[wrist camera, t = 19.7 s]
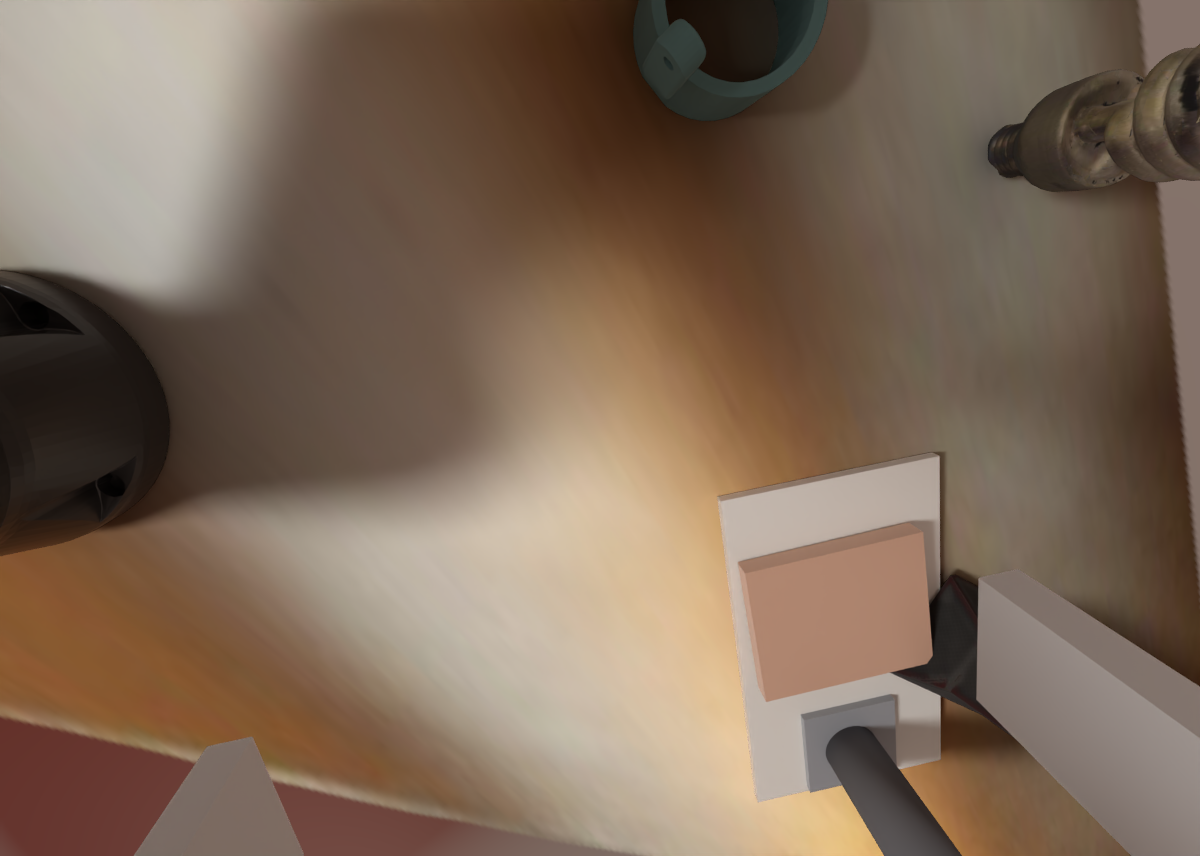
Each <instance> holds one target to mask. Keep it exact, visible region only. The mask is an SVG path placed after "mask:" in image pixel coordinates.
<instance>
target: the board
mask: <svg viewBox="0 0 1200 856" xmlns="http://www.w3.org/2000/svg"><path fill="white" fill-rule="evenodd" d="M717 499H718V507H719V515H720V523H721V531H722V539H723V547H724V555H725V563H726V570H727V578H728V586H729V594H730V602H731V610H732V618H733V626H734V634H735V642H736V650H737V658H738V666H739V674H740V682H741V690H742V698H743V706H744V714H745V722H746V730H747V738H748V745H749V753H750V761H751V769H752V777H753V785H754V793H755V796H756V798H757V801H758V802H762V801H766V800H770V799H774V798H779V797H783V796H787V795H792V794H796V793H800V792H804V791H810V793H811V792H815V791H819V790H824V789H828V788H832V787H836V786H841V785H842V784H841V782H840V780H839V779H838V777H837V775H836V774H835V772H834V770H833V769H832V767H831V765H830V764H829V762H828V760H827V758H826V747H827V744H828V742H829V741H830V739H831V738H832V737H833V736H834V735H835V734H836V733H837V732H839V731H840V730H842V729H844V728H847V727H851V726H861V727H865V728H867V729H869V730H870V731H871V732H872V733H873V734H874V735H875V737H876V738H877V740H878V741H879V742H880V744H881V745H882V746H883V748H884V749H885V751H886V752H887V753H888V755H889V756H890V757H891V759H892V760H893V762H894V763H895V764H896V766H897V767H898V768H899V769H903V768H907V767H911V766H915V765H920V764H924V763H928V762H932V761H937V760H941V701H940V695H937V694H935V693H933V692H931V691H929V690H926V689H924V688H922V687H920V686H918V685H916V684H913V683H911V682H909V681H907V680H905V679H903V678H900V677H898V676H896V675H894V674H892V673H886V674H882V675H877V676H873V677H869V678H865V679H861V680H856V681H852V682H848V683H844V684H840V685H836V686H831V687H827V688H823V689H819V690H815V691H810V692H806V693H802V694H798V695H794V696H790V697H785V698H781V699H777V700H773V701H769V702H766V701H765V699H764V697H763V695H762V693H761V691H760V689H759V687H758V683H757V677H756V671H755V665H754V658H753V652H752V646H751V640H750V634H749V628H748V622H747V616H746V610H745V604H744V598H743V592H742V586H741V580H740V574H739V568H738V562H741V561H745V560H749V559H754V558H758V557H762V556H767V555H771V554H775V553H779V552H784V551H788V550H792V549H797V548H801V547H805V546H810V545H814V544H818V543H823V542H827V541H831V540H835V539H840V538H844V537H848V536H853V535H857V534H861V533H866V532H870V531H874V530H879V529H883V528H887V527H892V526H896V525H900V524H904V523H910V524H912V525H913V526H915V527H916V528H918V529H919V530H921V531H922V532H923V536H924V549H925V562H926V575H927V587H928V600H929V605H930V603H931V602H932V600H933V599H934V598H935V596H936V595H937V594H938V592H939V591H940V456H938V455H936V454H934V453H932V452H931V453H926V454H921V455H916V456H911V457H906V458H902V459H897V460H892V461H887V462H882V463H877V464H872V465H868V466H863V467H858V468H853V469H848V470H843V471H839V472H834V473H829V474H824V475H819V476H814V477H810V478H805V479H800V480H795V481H790V482H785V483H781V484H776V485H771V486H766V487H761V488H756V489H752V490H747V491H742V492H737V493H732V494H727V495H723V496H718V497H717Z"/></svg>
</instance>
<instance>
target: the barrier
mask: <svg viewBox="0 0 1200 856" xmlns="http://www.w3.org/2000/svg"><path fill="white" fill-rule="evenodd" d="M929 613H930V626H931V639H932V652H933V656H932V657H931V659H930V660H929V661H928V663H927V664H923V665H919V666H915V667H911V668H907V669H903V670H898V671H894V672H890V673H892V674H894V675H896V676H898V677H900V678H903V679H905V680H907V681H909V682H911V683H913V684H916V685H918V686H920V687H922V688H924V689H926V690H929V691H931V692H933V693H935V694H937V695H940V696H942V697H944V698H946V699H948V700H950V701H953V702H955V703H957V704H959V705H961V706H964V707H966V708H968V709H970V710H972V711H974V712H977V713H979V714H981V715H983V716H984V717H985V718H987V719H988V720H990V721H991V722H993V723H994V724H995V725H997V726H998V727H1000V728H1001V729H1002V730H1004V731H1005V732H1007V733H1008V734H1009V735H1011V734H1010V733H1009V732H1008V731H1007V730H1006V729H1005V728H1004V727H1003V726H1002V725H1001V724H1000V723H999V722H998V721H997V720H996V719H995V718H994V717H993V716H992V715H991V714H990V713H989V712H988V711H987V710H986V709H985V708H984V707H983V706H982V705H981V704H980V703H979V702H978V701H977V700H976V695H977V640H978V586H976V585H974V584H972V583H970V582H968V581H967V580H965V579H963V578H961V577H959V576H957V575H951V576H950V577H949V578H948V580H947V581H946V583H945V584H944V585H943V587H942V588H941V589H940V591H939V592H938V594H937V595H936V596H935V598H934V599H933V600H932V602H931V603H930V605H929ZM1011 736H1012V735H1011ZM1012 737H1013V736H1012Z"/></svg>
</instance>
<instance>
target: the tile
mask: <svg viewBox="0 0 1200 856" xmlns="http://www.w3.org/2000/svg"><path fill="white" fill-rule="evenodd" d="M738 568H739V574H740V580H741V586H742V592H743V598H744V604H745V610H746V616H747V622H748V628H749V634H750V640H751V646H752V652H753V658H754V665H755V671H756V677H757V683H758V687H759V689H760V691H761V693H762V695H763V697H764V699H765V701H766V702H769V701H773V700H777V699H781V698H785V697H790V696H794V695H798V694H802V693H806V692H810V691H815V690H819V689H823V688H827V687H831V686H836V685H840V684H844V683H848V682H852V681H856V680H861V679H865V678H869V677H873V676H877V675H882V674H886V673H890V672H894V671H898V670H903V669H907V668H911V667H915V666H919V665H923V664H927V663H928V661H929V660H930V659H931V657H932V656H933V652H932V639H931V626H930V613H929V600H928V587H927V575H926V562H925V549H924V536H923V532H922V531H921V530H919V529H918V528H916V527H915V526H913V525H912V524H910V523H904V524H900V525H896V526H892V527H887V528H883V529H879V530H874V531H870V532H866V533H861V534H857V535H853V536H848V537H844V538H840V539H835V540H831V541H827V542H823V543H818V544H814V545H810V546H805V547H801V548H797V549H792V550H788V551H784V552H779V553H775V554H771V555H767V556H762V557H758V558H754V559H749V560H745V561H741V562H738Z"/></svg>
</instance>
